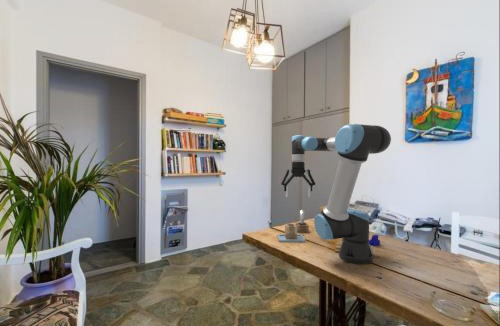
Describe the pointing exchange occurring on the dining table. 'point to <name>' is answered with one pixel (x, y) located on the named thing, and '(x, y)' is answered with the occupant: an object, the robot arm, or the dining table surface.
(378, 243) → the cable clip
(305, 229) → the brown hollow block
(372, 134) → the robot arm
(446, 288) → the dining table surface
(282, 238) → the tray
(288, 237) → the block
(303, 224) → the silver metal rod
